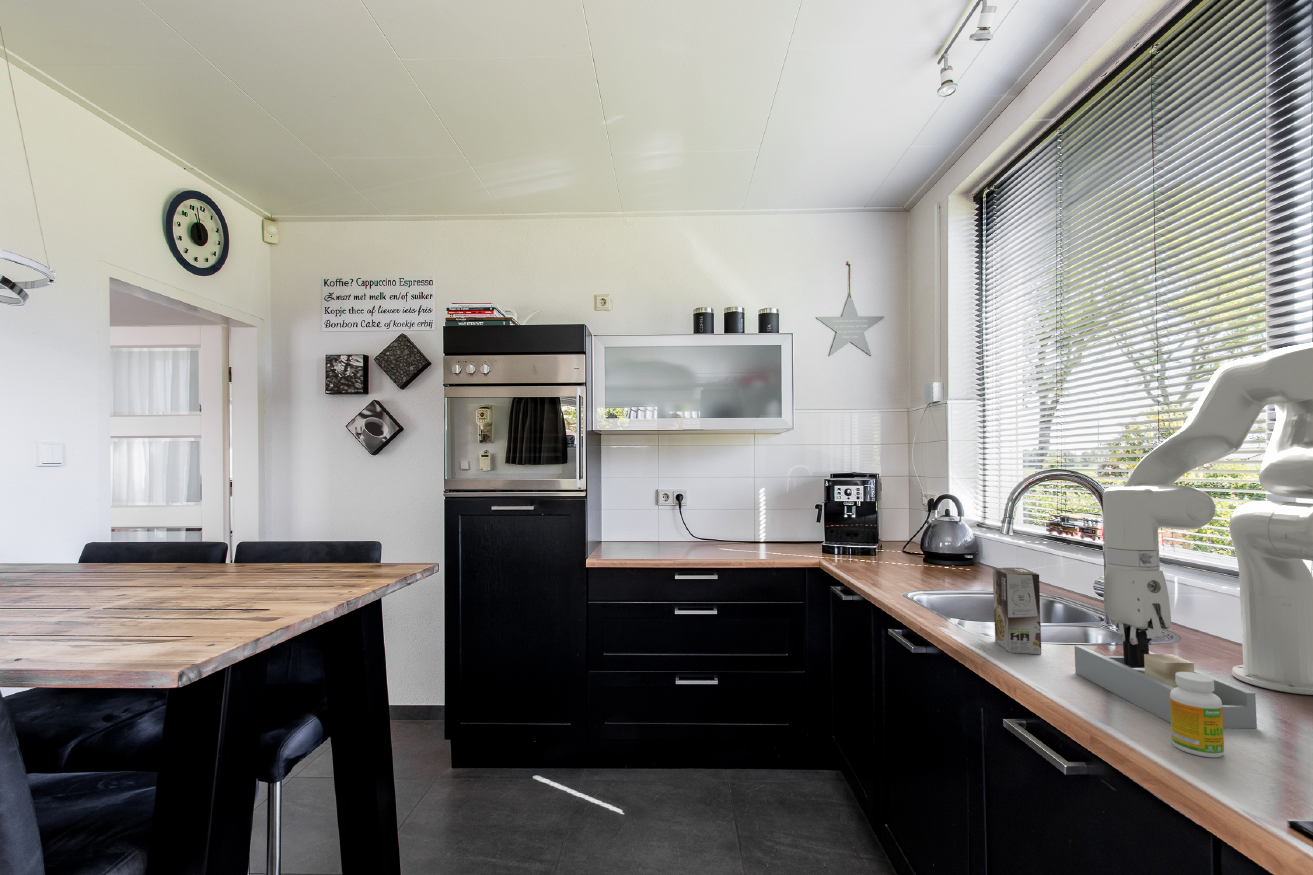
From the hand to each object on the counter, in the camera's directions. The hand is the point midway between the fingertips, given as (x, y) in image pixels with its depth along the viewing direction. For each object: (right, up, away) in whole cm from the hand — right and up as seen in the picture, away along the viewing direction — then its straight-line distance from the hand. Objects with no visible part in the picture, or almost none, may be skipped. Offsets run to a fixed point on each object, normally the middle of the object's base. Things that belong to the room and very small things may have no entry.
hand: (1136, 665), depth 108 cm
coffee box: (-7, -5, +24) cm, 25 cm away
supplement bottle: (-10, -3, -23) cm, 25 cm away
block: (-1, 0, -8) cm, 8 cm away
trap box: (0, -4, -4) cm, 6 cm away
